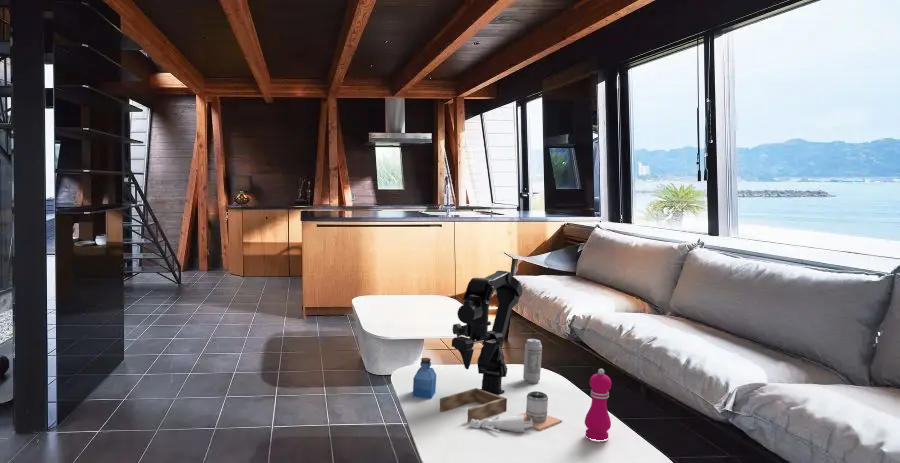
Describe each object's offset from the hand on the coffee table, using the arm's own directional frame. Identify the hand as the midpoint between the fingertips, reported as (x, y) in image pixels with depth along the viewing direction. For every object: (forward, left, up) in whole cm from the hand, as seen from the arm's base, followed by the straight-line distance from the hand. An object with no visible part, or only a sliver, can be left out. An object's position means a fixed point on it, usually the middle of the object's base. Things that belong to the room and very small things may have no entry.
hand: (476, 366), depth 207 cm
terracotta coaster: (-3, +22, -12) cm, 25 cm away
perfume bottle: (+7, -16, -12) cm, 21 cm away
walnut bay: (+6, +4, -12) cm, 14 cm away
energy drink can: (-34, -3, -12) cm, 36 cm away
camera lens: (-3, +22, -12) cm, 25 cm away
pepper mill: (-6, +41, -12) cm, 43 cm away
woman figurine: (+10, +19, -13) cm, 25 cm away
